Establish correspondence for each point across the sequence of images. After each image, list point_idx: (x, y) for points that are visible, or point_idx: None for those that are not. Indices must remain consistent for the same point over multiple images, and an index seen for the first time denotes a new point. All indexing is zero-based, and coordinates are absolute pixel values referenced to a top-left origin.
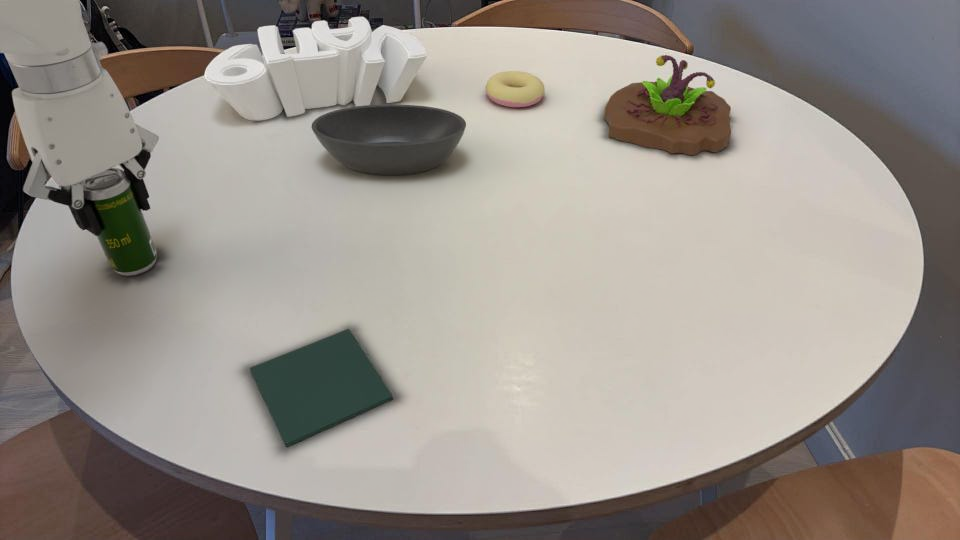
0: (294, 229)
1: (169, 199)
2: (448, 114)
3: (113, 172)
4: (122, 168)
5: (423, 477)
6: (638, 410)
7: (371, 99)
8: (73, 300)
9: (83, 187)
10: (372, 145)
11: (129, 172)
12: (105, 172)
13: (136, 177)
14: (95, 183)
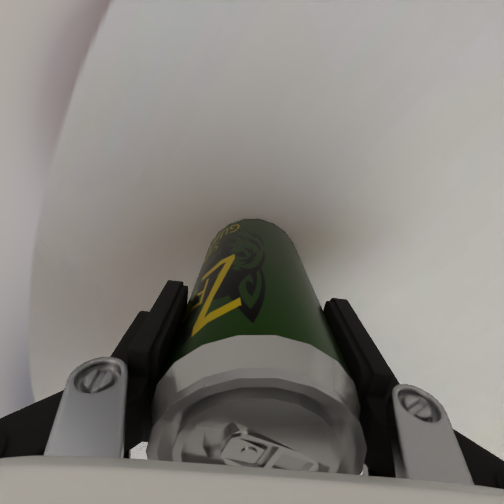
0: (442, 395)
1: (475, 124)
2: None
3: (328, 458)
4: (391, 417)
5: None
6: None
7: None
8: (123, 239)
9: (178, 417)
10: None
11: (374, 454)
12: (311, 434)
13: (363, 467)
14: (222, 452)
